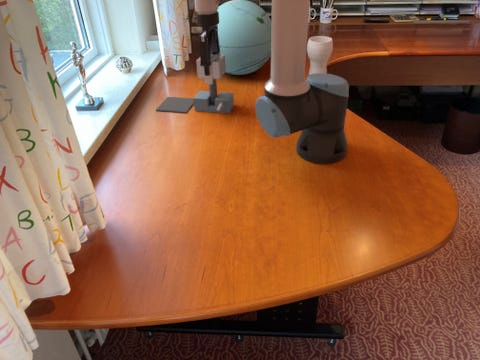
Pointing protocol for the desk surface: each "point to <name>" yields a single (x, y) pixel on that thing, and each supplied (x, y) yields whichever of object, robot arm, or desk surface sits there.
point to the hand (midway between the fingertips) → (212, 79)
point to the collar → (213, 66)
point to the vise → (213, 100)
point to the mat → (176, 105)
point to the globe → (244, 36)
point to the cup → (319, 53)
